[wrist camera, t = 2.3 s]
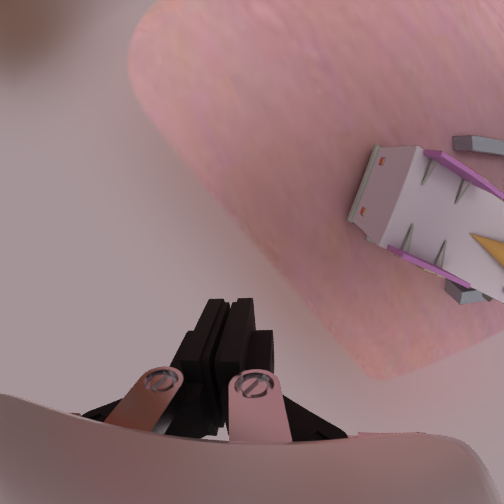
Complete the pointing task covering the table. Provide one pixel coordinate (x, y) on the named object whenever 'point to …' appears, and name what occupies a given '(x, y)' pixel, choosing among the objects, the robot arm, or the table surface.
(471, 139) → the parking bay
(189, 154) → the table surface
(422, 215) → the toy vehicle
